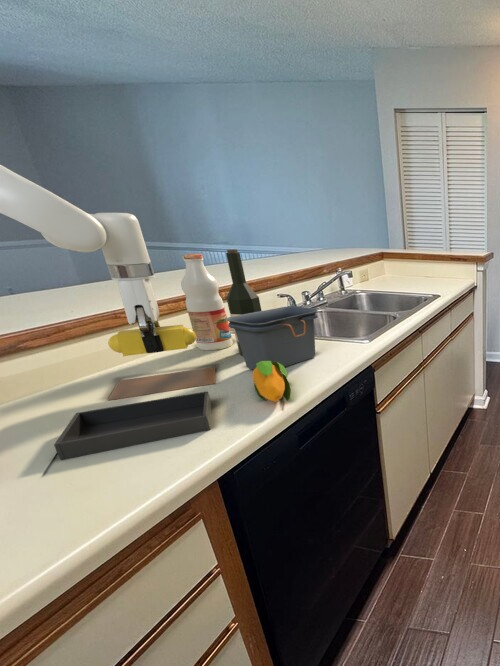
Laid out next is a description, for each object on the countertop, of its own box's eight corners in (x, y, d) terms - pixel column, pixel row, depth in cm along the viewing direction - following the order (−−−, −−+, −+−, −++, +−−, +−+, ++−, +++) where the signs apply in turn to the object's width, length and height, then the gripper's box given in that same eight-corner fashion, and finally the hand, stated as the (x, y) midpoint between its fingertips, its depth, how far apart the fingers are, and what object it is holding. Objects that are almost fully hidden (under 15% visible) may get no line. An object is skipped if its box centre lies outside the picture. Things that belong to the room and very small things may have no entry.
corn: (279, 351, 105) (291, 375, 90) (287, 379, 109) (300, 407, 93) (245, 358, 102) (252, 384, 86) (254, 386, 105) (263, 417, 90)
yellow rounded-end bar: (110, 357, 96) (102, 336, 94) (114, 352, 99) (107, 332, 97) (198, 347, 104) (192, 327, 102) (198, 342, 108) (193, 323, 106)
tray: (61, 463, 72) (53, 444, 70) (83, 429, 83) (76, 412, 81) (211, 432, 83) (206, 416, 81) (212, 405, 94) (208, 391, 92)
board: (108, 401, 94) (107, 400, 94) (119, 381, 105) (119, 380, 105) (214, 384, 105) (214, 383, 104) (215, 368, 115) (215, 366, 115)
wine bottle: (242, 348, 131) (219, 248, 120) (272, 347, 134) (252, 248, 122) (235, 357, 124) (209, 251, 113) (267, 355, 126) (245, 250, 115)
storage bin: (297, 349, 132) (288, 304, 127) (335, 356, 127) (328, 309, 121) (232, 370, 114) (219, 318, 108) (273, 380, 108) (262, 325, 103)
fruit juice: (198, 344, 135) (173, 253, 124) (233, 340, 139) (212, 252, 129) (197, 352, 127) (170, 256, 117) (233, 348, 132) (210, 255, 121)
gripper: (117, 268, 99) (142, 342, 106) (101, 277, 86) (131, 361, 93) (157, 266, 103) (178, 338, 110) (148, 275, 90) (173, 356, 97)
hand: (156, 348), depth 102 cm, fingers closed on yellow rounded-end bar, 4 cm apart
